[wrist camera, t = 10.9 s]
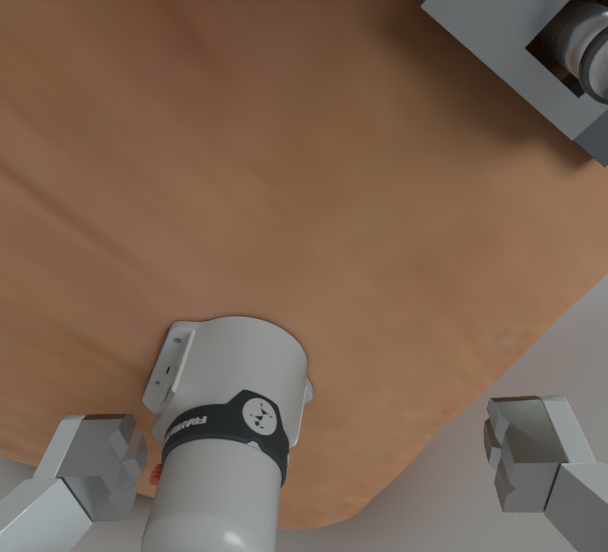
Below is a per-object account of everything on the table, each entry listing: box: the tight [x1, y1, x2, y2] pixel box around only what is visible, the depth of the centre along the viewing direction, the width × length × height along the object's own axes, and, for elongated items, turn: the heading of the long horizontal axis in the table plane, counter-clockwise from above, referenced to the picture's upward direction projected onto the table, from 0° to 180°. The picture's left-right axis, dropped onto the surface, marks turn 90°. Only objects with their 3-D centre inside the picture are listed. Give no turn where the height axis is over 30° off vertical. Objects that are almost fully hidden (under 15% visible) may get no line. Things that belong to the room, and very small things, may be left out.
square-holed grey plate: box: [416, 0, 608, 167], centre depth 34 cm, size 10×20×4 cm, turn 55°
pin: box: [540, 0, 608, 105], centre depth 32 cm, size 5×5×9 cm
